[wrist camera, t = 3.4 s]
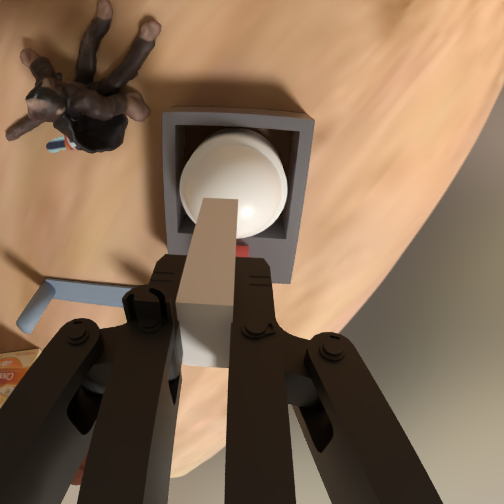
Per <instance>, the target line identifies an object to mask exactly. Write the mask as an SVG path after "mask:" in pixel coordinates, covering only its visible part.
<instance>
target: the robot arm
mask: <svg viewBox="0 0 504 504" xmlns="http://www.w3.org/2000/svg"><path fill="white" fill-rule="evenodd" d="M237 215H238V199H222V198H203V201H202V204H201V208H200V211H199V215H198V218H197V222H196V225H195V229H194V233H193V236H192V240H191V243H190V247H189V251H188V255H173V254H165V255H164V256H163V257H162V258H161V259H160V260H159V261H157V263H156V265H155V268H154V271H153V273H152V276H151V279H150V282H149V284H148V285H141V286H138V287H135V288H132V289H131V290H129V291H128V292H126V293H125V295H124V296H123V298H122V303H123V307H124V311H125V315H126V319H127V323H125V324H123V325H120V326H116V327H110V328H103V329H99V327H98V326H97V324H96V323H95V322H94V321H92V320H90V319H85V318H79V319H74V320H72V321H69V322H67V323H66V324H65V325H64V326H63V327H61V328H60V330H59V331H58V332H57V333H56V335H55V336H54V337H53V338H52V340H51V341H50V342H49V343H48V345H47V346H46V347H45V348H44V350H43V351H42V352H41V354H40V355H39V356H38V357H37V359H36V360H35V361H34V363H33V364H32V365H31V367H30V368H29V369H28V371H27V372H26V373H25V375H24V376H23V377H22V379H21V380H20V381H19V383H18V384H17V386H16V387H15V388H14V390H13V391H12V393H11V394H10V395H9V397H8V398H7V400H6V401H5V403H4V404H3V405H2V407H1V408H0V504H61V502H62V500H63V498H64V496H65V494H66V492H67V490H68V488H69V486H70V484H71V482H72V481H73V479H74V477H75V475H76V473H77V471H78V469H79V467H80V465H81V463H82V461H83V459H84V458H85V456H86V454H87V452H88V454H87V458H86V463H85V467H84V472H83V476H82V481H81V486H80V491H79V496H78V501H77V504H167V502H168V491H169V481H170V471H171V462H172V453H173V444H174V436H175V428H176V420H177V412H178V405H179V397H180V390H181V383H182V375H181V364H182V358H183V364H184V365H189V366H203V367H219V368H229V377H228V402H227V430H226V464H225V504H296V497H295V484H294V471H293V460H292V448H291V436H290V425H289V414H288V404H291V405H292V407H293V409H294V412H295V414H296V417H297V419H298V422H299V424H300V427H301V429H302V431H303V434H304V437H305V439H306V441H307V444H308V446H309V449H310V451H311V454H312V456H313V459H314V461H315V464H316V466H317V469H318V471H319V473H320V476H321V478H322V481H323V483H324V485H325V488H326V490H327V493H328V495H329V498H330V500H331V502H332V504H443V502H442V501H441V499H440V497H439V495H438V493H437V491H436V489H435V487H434V485H433V483H432V481H431V480H430V478H429V476H428V474H427V472H426V470H425V468H424V467H423V465H422V463H421V461H420V459H419V457H418V455H417V454H416V452H415V450H414V448H413V446H412V445H411V443H410V441H409V439H408V437H407V436H406V434H405V432H404V430H403V429H402V427H401V425H400V423H399V421H398V420H397V418H396V416H395V414H394V413H393V411H392V409H391V408H390V406H389V405H388V402H387V401H386V399H385V397H384V395H383V394H382V392H381V390H380V389H379V387H378V385H377V383H376V382H375V380H374V379H373V377H372V375H371V373H370V372H369V370H368V368H367V366H366V365H365V363H364V361H363V360H362V358H361V357H360V355H359V353H358V351H357V350H356V348H355V347H354V345H353V344H352V343H351V342H350V341H349V340H348V339H347V338H346V337H344V336H342V335H341V334H337V333H333V332H322V333H320V334H317V335H315V336H314V337H313V338H312V339H311V340H307V339H303V338H299V337H296V336H293V335H291V334H289V333H287V332H285V331H284V330H283V329H282V328H281V327H280V326H279V325H278V323H277V321H276V318H275V310H274V300H273V290H272V280H271V271H270V266H269V265H268V263H267V262H266V261H265V259H264V258H253V257H235V256H236V235H237Z"/></svg>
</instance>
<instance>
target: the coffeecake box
mask: <svg viewBox="0 0 504 504" xmlns="http://www.w3.org/2000/svg"><path fill="white" fill-rule="evenodd" d="M41 352H42V351H41V349H32V350H24V351H17V352H9V353H1V354H0V408H1V407H2V405H3V404H4V403H5V401H6V400H7V398H8V397H9V395H10V394H11V393H12V391H13V390H14V388H15V387H16V386H17V384H18V383H19V381H20V380H21V379H22V377H23V376H24V375H25V373H26V372H27V371H28V369H29V368H30V367H31V365H32V364H33V363H34V361H35V360H36V359H37V357H38V356H39V355H40V354H41Z"/></svg>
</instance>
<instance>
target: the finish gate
mask: <svg viewBox="0 0 504 504" xmlns="http://www.w3.org/2000/svg"><path fill="white" fill-rule="evenodd" d="M132 288H135V287H131V286H120V285H110V284H99V283H90V282H80V281H71V280H62V279H53V278H46V279H45V281H44V282H43V283H42V285H41V286H40V287H39V289H38V290H37V292H36V293H35V294H34V296H33V297H32V299H31V300H30V302H29V303H28V305H27V306H26V308H25V309H24V311H23V312H22V314H21V315H20V317H19V318H18V320H17V321H16V324H17V326H18V328H19V329H20V330H21V331H22V332H24V333H26V334H30V333H31V332H32V330H33V329H34V327H35V325H36V324H37V322H38V320H39V319H40V317H41V316H42V314H43V312H44V311H45V309H46V308H47V306H48V304H49V303H50V301H51V300H52V298H53V299H60V300H67V301H74V302H81V303H89V304H97V305H105V306H114V307H123V303H122V298H123V296H124V295H125V293H126V292H128V291H129V290H131V289H132ZM123 308H124V307H123Z"/></svg>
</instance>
